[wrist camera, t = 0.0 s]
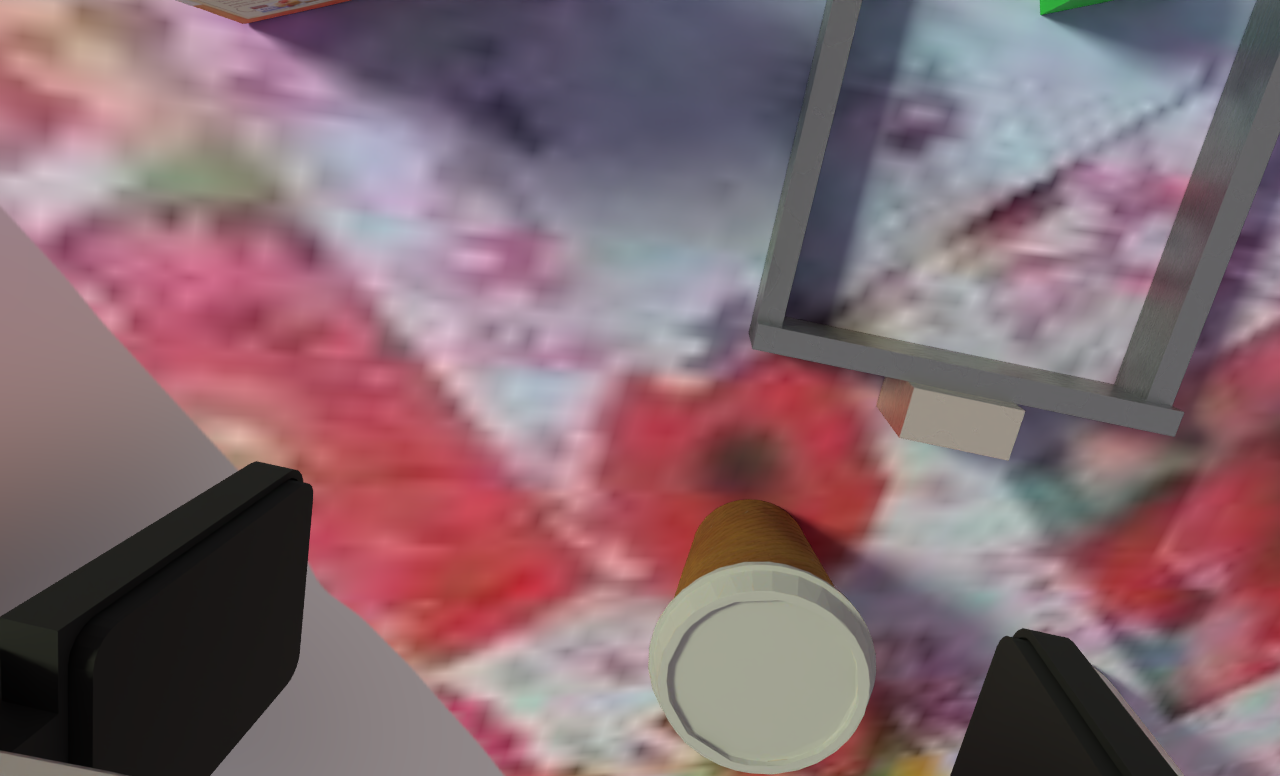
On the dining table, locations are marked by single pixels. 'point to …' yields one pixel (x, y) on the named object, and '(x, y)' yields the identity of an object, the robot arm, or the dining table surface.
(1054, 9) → the mechanical part
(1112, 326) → the dining table surface
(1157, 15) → the dining table surface
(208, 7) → the cracker box
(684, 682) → the disposable coffee cup
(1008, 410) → the drawer frame
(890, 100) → the dining table surface
